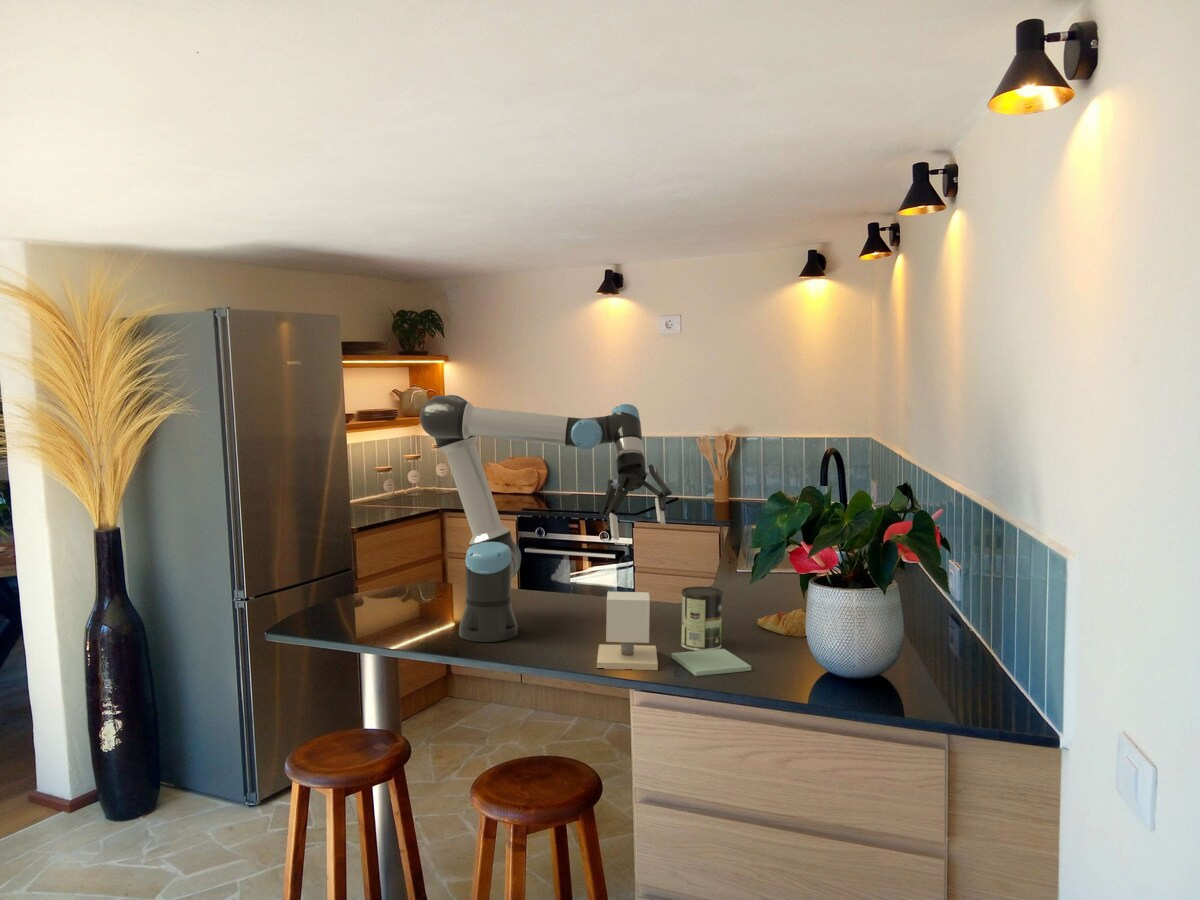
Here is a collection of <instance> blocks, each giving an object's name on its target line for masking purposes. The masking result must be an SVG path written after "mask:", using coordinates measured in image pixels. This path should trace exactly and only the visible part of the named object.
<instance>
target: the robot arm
mask: <svg viewBox="0 0 1200 900" xmlns="http://www.w3.org/2000/svg"><path fill="white" fill-rule="evenodd" d="M419 423H420V425H421V428H422V429H423V431H424V432H425V433H426V434H428V435H429V436H430V437H432V438H434V440H435V444H436V447H437V450H438V451H441V452H442V453H444V454H445V457H446V459H447V462H448V466H449V468H450V471H451V474H452V477H453V480H454V483H455V485H456V489H457V492H458V494H459V499H460V501H461V504H462V507H463V511H464V513H465V517H466V519H467V523H468V525H469V528H470V532H471V535H472V537H471V538H470V541H469V543H468V544H469V547H468V549H467V550H466V554H465V561H464V562H465V608H464V611H463V614H462V617H461V620H460V623H459V626H458V627H459V628H458V635H459V637H460V638H461V639H463V640H466V641H469V642H476V643H495V642H502V641H507V640H511V639H513V638H515V637H516V636H517V635H518V624H517V620H516V617H515V614H514V611H513V607H512V603H511V600H512V597H511V596H512V594H511V593H512V588H511V587H512V582H511V581H512V579H513V578H514V577H515V576H516V575H517V573H518V571H519V569H520V567H521V563H522V554H521V550H520V548H519V546H518V545H517V544H516V543H515V541H514V539H513V536H512V534H511V529H509V528H508V527H505V526H504V525H503V524H502V521H501V518H500V515H499V511H498V509H497V506H496V502H495V499H494V497H493V494H492V491H491V488H490V484H489V482H488V478H487V475H486V473H485V469H484V467H483V463H482V461H481V457H480V455H479V451H478V448H477V445H476V443H477V440H478V439H479V438H490V439H497V440H498V439H499V440H506V441H507V440H510V441H516V442H517V441H518V442H525V443H526V442H527V443H537V444H548V445H554V446H565V447H572V448H579V449H582V450H591V449H594V448H595V447H597V446H599V445H604V444H612V443H614V449H615V458H616V470H617V471H616V472H617V474H618V476H617V479H611V478H609V479H608V480H607V489H606V492H605V495H604V497H603V501H602V504H601V507H600V509H599V510H600V511H599V514H600V515H601V516H602V517H604V518H606V520H607V524H606V525H607V527H608V528H610V535H611V536H610V537H611V538H613V539H614V540H616V541H618V540H620V532H619V522H618V521H619V520H618V515H617V514H616V513H617V512H618V510H619V508H620V506H621V504H622V502H623V500H624V498H625V497H626V496H627V495H628V494H629V493H631V492H634V491H635V490H640V489H641V488H642V487H645V488H646V489H647V490H649V491H650V492H652V493H653V494H654V495H655V496H656V497H655V498H654V503H655V509H656V518H657V519H656V520H657V522H658V523H659V524H660V525H662V526H664V525H666V519H665V518H666V516H665V511H666V510H667V503H666V502H667V501H666V498H667V497H669V496H672V493H673V492H672V491H671V489H670V488H669V487H668V484H666V482H665V481H664V480H663V478H662V477H661V476H660V475H659V472H658V468H657V467H656V466H654V465H653V464H649V465H648V467H647V468H646V460H645V459H646V458H645V452H644V451H645V450H644V444H643V443H644V442H643V435H642V434H643V433H642V423H641V418H640V411H639V410H638V408H637V407H636V406H635V405H633V404H630V403H622V404H619V405H618V406H615V407H614V408H612V410H611V414H608V415H606V416H594V417H586V418H584V417H583V418H582V417H574V416H573V417H571V416H564V415H563V416H562V415H554V414H553V415H552V414H544V413H535V412H534V413H533V412H525V411H518V410H506V409H497V408H487V407H479V406H474V405H473V404H472V403H471V402H469V401H467V400H466V399H464V398H463V397H462V396H459V395H454V394H448V395H447V394H446V395H444V394H443V395H442V394H441V395H436V396H432V397H431V398H429V399H428V400H426V401H425V402H424V403H423V404H422V406H421V409H420V412H419ZM648 475H650V476H651V477H652V478H653V480H654V481H655V483H656V484H657V485H658V486H659V488H660V489H661V490H662V491H659V490H658V489H657V488H655V486H653V485H651V484H650V483H648V482H647V481H646V479H647V477H648Z"/></svg>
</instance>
